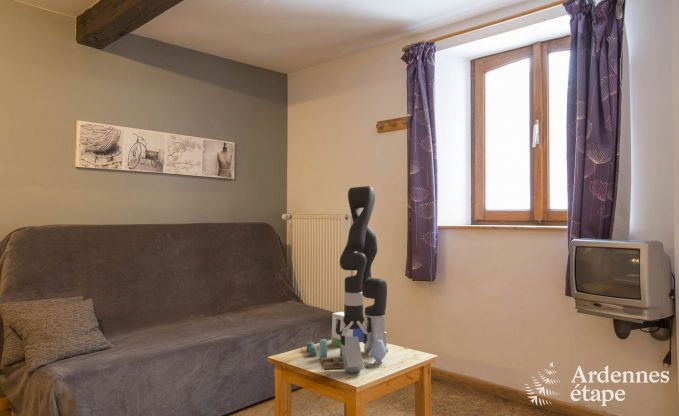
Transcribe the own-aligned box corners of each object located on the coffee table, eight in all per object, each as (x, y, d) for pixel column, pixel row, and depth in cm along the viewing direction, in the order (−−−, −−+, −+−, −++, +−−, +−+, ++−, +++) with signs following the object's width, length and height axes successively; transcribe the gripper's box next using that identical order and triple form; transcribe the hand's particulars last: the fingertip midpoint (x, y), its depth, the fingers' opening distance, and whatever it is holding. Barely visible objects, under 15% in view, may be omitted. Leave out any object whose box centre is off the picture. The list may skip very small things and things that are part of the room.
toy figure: (383, 359, 201) (383, 331, 201) (392, 363, 196) (393, 334, 196) (363, 363, 195) (363, 334, 195) (373, 367, 190) (373, 338, 190)
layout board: (317, 351, 212) (317, 340, 212) (323, 359, 200) (323, 348, 200) (300, 352, 211) (300, 341, 211) (304, 360, 198) (304, 349, 198)
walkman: (361, 340, 231) (361, 316, 231) (362, 342, 228) (362, 317, 228) (345, 340, 230) (346, 316, 230) (346, 342, 227) (346, 317, 228)
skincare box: (330, 346, 220) (331, 313, 220) (341, 343, 225) (341, 311, 225) (343, 350, 214) (343, 315, 214) (353, 347, 219) (353, 313, 219)
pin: (326, 360, 199) (326, 339, 199) (327, 362, 196) (327, 341, 196) (318, 360, 198) (318, 339, 198) (320, 363, 195) (320, 341, 195)
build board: (346, 362, 196) (346, 340, 196) (351, 368, 189) (351, 346, 189) (320, 364, 194) (321, 342, 194) (324, 370, 186) (324, 347, 186)
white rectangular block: (355, 342, 192) (358, 336, 188) (359, 371, 185) (363, 366, 180) (340, 343, 191) (343, 337, 186) (345, 372, 183) (347, 367, 179)
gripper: (367, 300, 191) (368, 340, 191) (333, 302, 188) (334, 342, 188) (373, 303, 184) (373, 345, 184) (338, 306, 180) (338, 348, 180)
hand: (353, 343), depth 186 cm, fingers open, 8 cm apart
